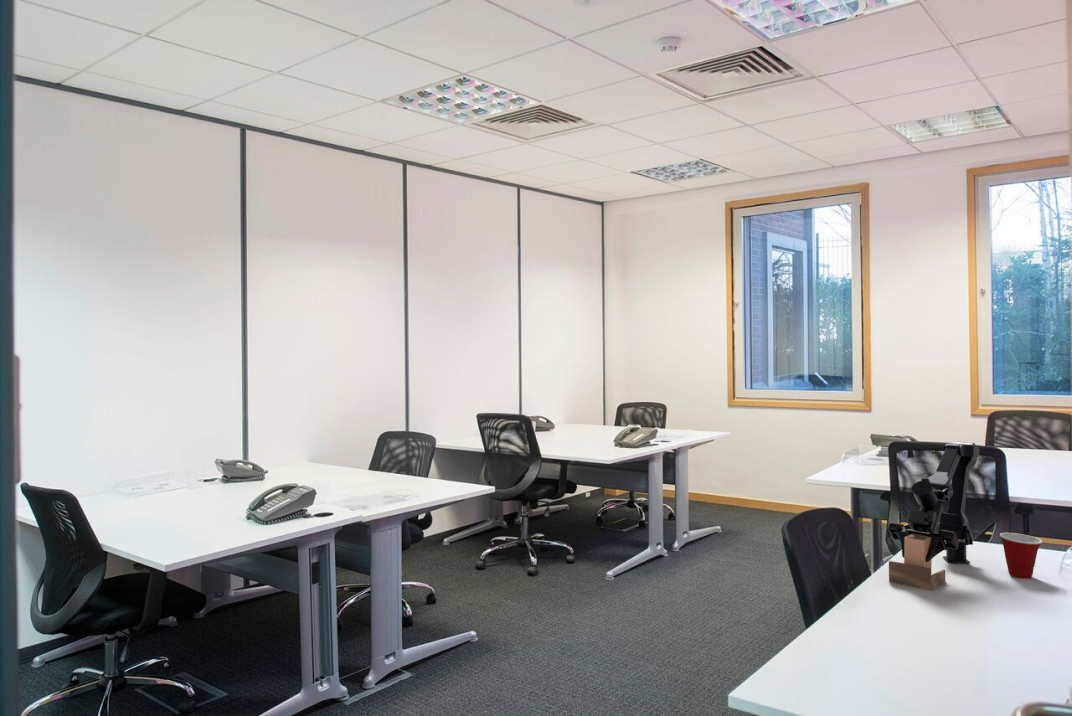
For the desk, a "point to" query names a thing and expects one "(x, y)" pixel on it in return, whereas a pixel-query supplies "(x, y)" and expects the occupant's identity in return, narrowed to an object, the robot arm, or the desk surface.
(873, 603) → the desk surface
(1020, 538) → the plastic cup
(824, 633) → the desk surface
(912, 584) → the brown l-shaped block
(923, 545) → the tall peach pillar
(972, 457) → the robot arm
